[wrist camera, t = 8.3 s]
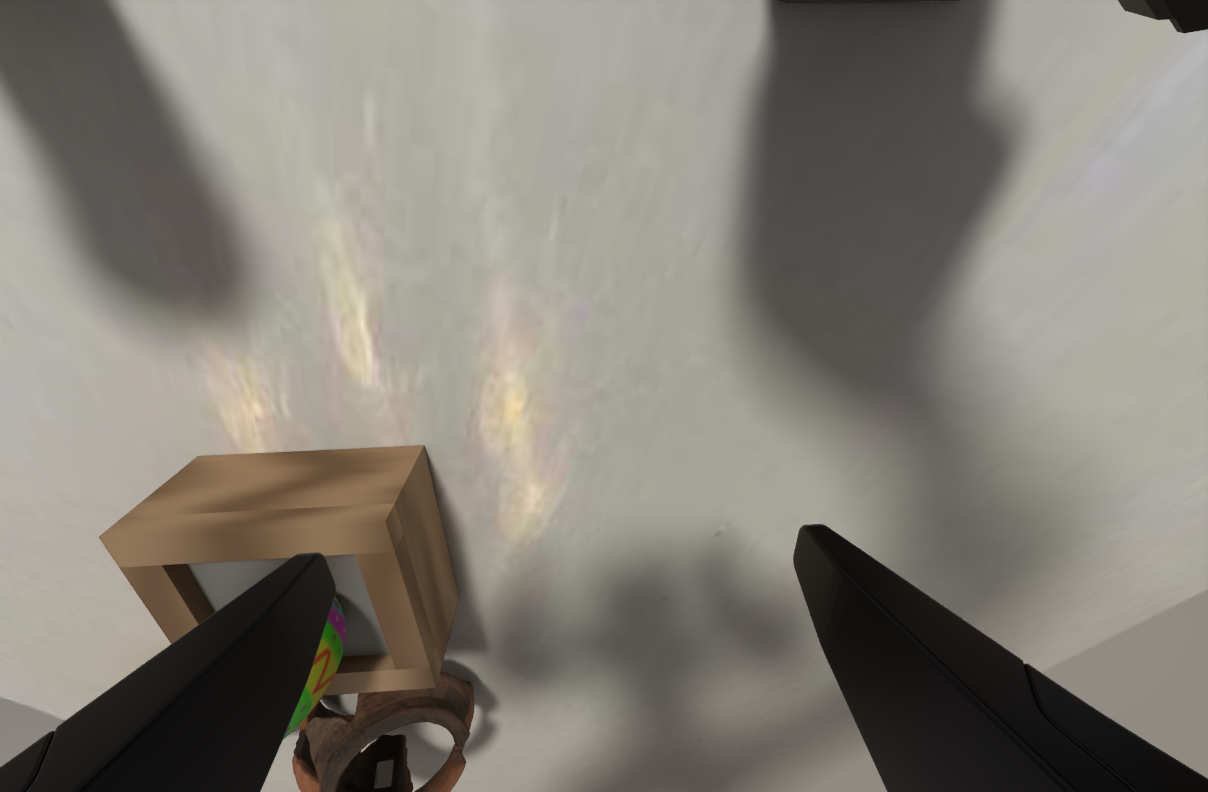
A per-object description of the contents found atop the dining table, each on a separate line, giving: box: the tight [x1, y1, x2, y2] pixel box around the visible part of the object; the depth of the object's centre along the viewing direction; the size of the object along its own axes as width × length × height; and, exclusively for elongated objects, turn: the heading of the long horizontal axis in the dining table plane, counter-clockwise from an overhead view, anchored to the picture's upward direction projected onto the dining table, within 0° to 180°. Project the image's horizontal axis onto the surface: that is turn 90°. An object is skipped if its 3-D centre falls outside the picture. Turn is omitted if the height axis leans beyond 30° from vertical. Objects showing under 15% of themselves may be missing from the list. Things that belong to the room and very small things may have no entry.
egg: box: [283, 597, 346, 739], centre depth 17 cm, size 5×5×6 cm
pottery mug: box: [292, 672, 474, 792], centre depth 28 cm, size 12×10×8 cm
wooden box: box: [99, 445, 459, 696], centre depth 22 cm, size 10×10×5 cm
